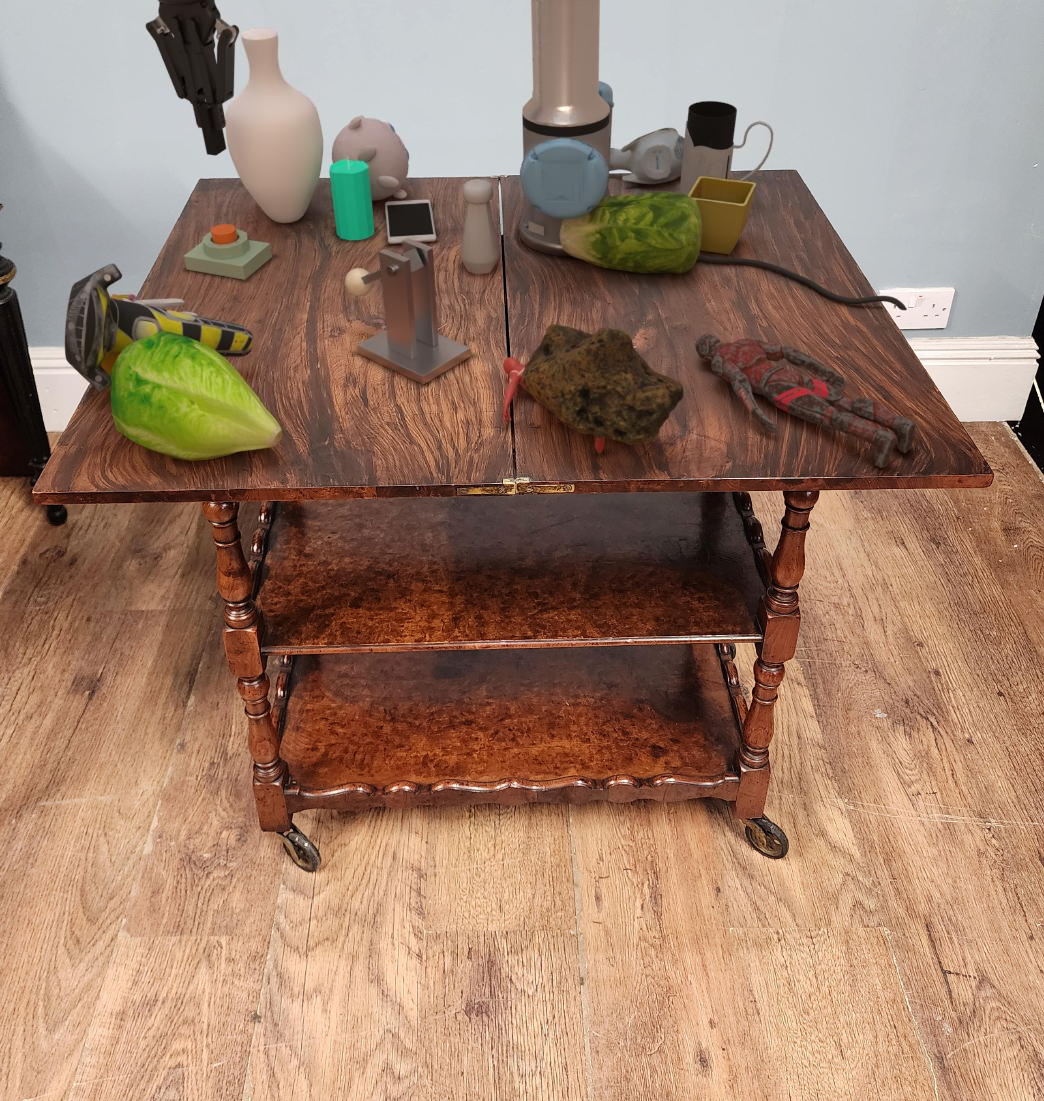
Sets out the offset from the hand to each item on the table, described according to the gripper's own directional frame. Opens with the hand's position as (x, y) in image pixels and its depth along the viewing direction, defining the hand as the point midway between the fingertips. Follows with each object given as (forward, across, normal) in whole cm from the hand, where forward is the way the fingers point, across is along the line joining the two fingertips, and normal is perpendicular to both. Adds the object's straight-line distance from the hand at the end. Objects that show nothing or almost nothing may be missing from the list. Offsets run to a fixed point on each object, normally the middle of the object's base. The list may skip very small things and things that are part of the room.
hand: (216, 151), depth 151 cm
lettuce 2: (+18, -56, -18) cm, 61 cm away
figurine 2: (+15, -98, +19) cm, 101 cm away
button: (+13, +1, +1) cm, 13 cm away
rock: (+8, -72, +31) cm, 79 cm away
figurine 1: (+16, -67, +26) cm, 73 cm away
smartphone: (+17, -19, -21) cm, 33 cm away
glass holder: (+18, -64, -44) cm, 79 cm away
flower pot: (+18, -66, -29) cm, 74 cm away
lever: (+8, -32, +14) cm, 36 cm away
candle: (+17, -12, -15) cm, 26 cm away
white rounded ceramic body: (+12, -52, -46) cm, 70 cm away
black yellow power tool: (+5, -20, +39) cm, 44 cm away
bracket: (+17, -36, +16) cm, 43 cm away
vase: (+17, 0, -16) cm, 23 cm away
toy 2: (+13, -10, +26) cm, 31 cm away
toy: (+10, -12, -22) cm, 27 cm away
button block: (+17, +1, +1) cm, 17 cm away
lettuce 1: (+17, -20, +39) cm, 47 cm away
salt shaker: (+17, -35, -10) cm, 40 cm away
